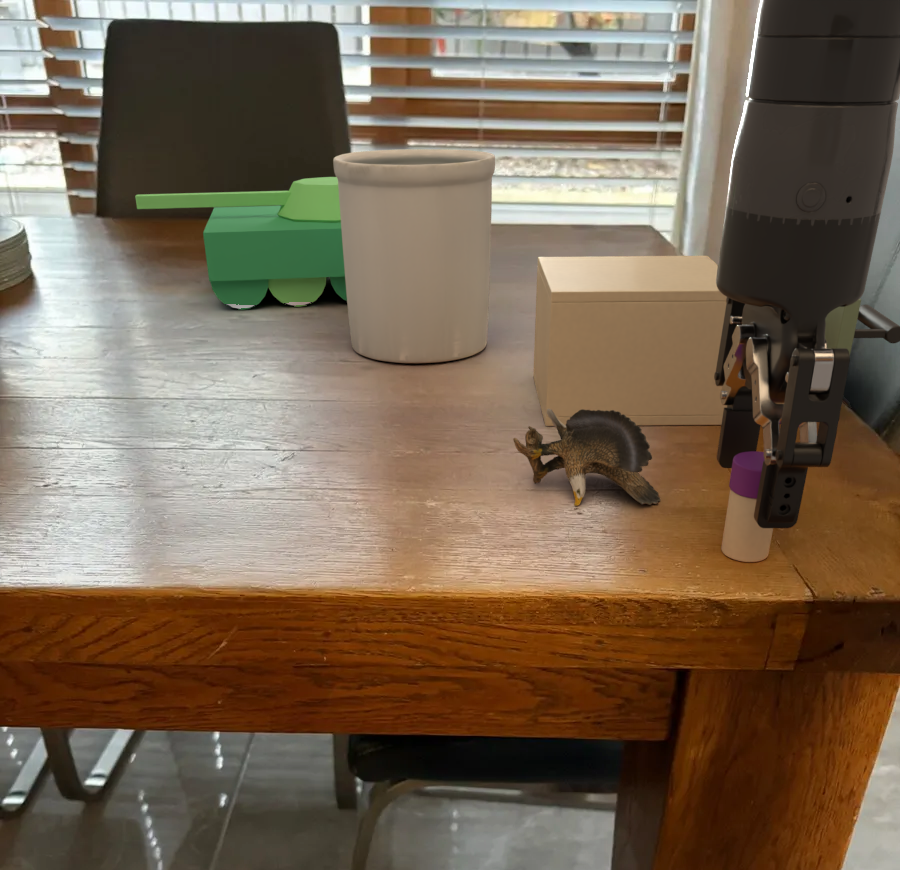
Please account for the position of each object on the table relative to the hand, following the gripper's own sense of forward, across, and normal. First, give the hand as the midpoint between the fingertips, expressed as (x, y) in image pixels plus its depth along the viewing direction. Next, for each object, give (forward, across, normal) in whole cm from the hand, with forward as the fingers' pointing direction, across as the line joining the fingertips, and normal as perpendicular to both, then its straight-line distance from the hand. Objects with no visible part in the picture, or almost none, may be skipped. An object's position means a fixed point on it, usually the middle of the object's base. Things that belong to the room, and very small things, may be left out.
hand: (752, 493), depth 58 cm
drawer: (+3, +28, -9) cm, 30 cm away
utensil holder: (+4, +45, +21) cm, 50 cm away
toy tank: (+4, +68, +36) cm, 77 cm away
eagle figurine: (+4, +9, +8) cm, 13 cm away
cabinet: (+4, +28, +3) cm, 29 cm away
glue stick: (+4, 0, 0) cm, 4 cm away
